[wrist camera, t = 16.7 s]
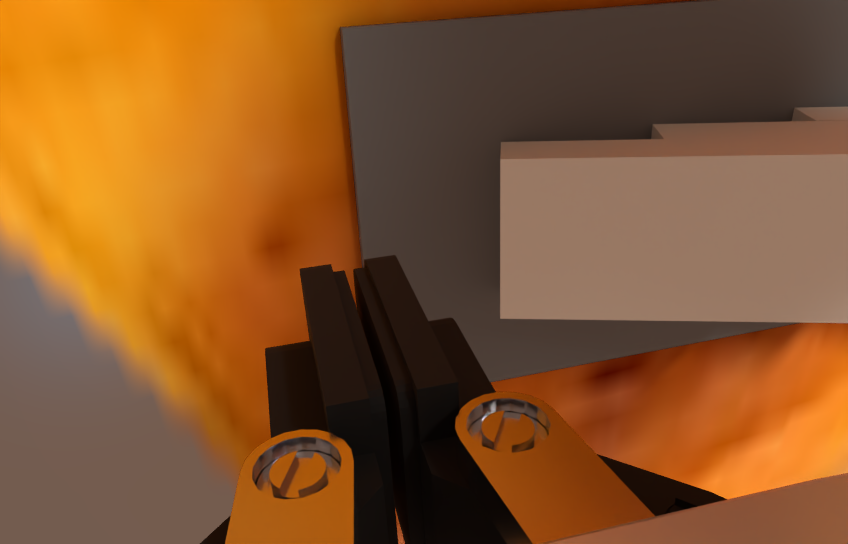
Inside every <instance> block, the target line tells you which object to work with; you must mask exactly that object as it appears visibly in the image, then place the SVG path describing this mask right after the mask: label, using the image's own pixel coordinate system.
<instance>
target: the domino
mask: <svg viewBox="0 0 848 544" xmlns="http://www.w3.org/2000/svg"><path fill="white" fill-rule="evenodd" d="M500 319H563V320H641V321H719V322H796V323H848V136H812V137H754V138H696V139H638V140H580V141H522V142H501V154H500Z"/></svg>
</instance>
